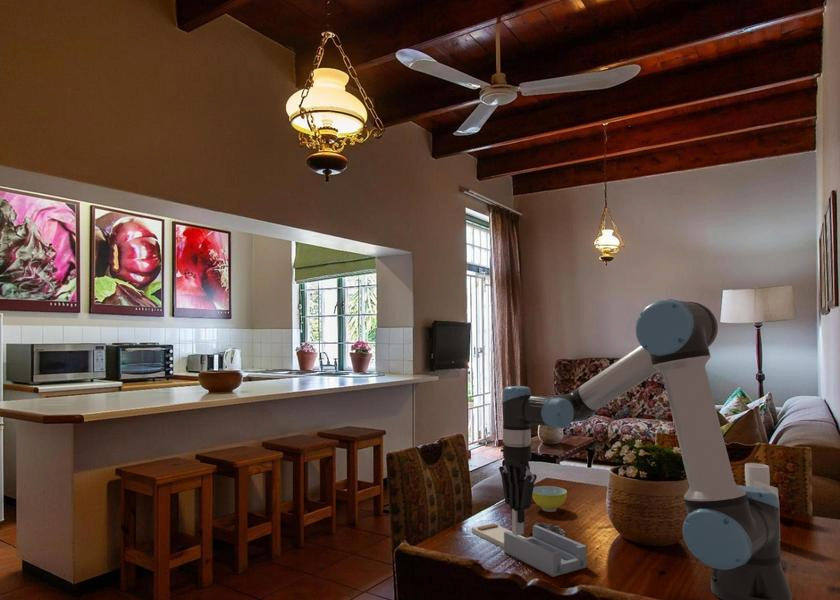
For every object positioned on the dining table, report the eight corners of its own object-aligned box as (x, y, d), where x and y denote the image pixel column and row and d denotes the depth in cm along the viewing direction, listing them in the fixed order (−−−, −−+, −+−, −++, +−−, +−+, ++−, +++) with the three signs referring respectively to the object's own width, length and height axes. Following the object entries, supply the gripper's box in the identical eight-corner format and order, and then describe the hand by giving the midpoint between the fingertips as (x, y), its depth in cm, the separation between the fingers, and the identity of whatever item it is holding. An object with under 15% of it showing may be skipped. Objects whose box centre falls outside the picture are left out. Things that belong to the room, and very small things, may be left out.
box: (586, 567, 139) (586, 545, 139) (553, 576, 133) (552, 554, 133) (536, 543, 154) (536, 524, 154) (504, 551, 148) (504, 532, 149)
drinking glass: (741, 511, 182) (739, 464, 183) (755, 509, 185) (753, 462, 186) (761, 518, 176) (760, 468, 177) (776, 515, 178) (774, 466, 179)
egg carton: (567, 549, 151) (567, 533, 151) (538, 548, 152) (538, 532, 152) (561, 535, 162) (560, 520, 162) (534, 534, 162) (534, 519, 163)
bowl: (524, 506, 188) (524, 487, 188) (555, 503, 191) (555, 484, 192) (542, 516, 177) (541, 496, 177) (574, 513, 180) (574, 493, 181)
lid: (530, 546, 153) (530, 538, 154) (508, 552, 149) (508, 543, 150) (493, 529, 167) (493, 521, 167) (471, 534, 163) (471, 526, 163)
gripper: (544, 446, 150) (545, 538, 149) (512, 439, 161) (513, 524, 160) (522, 449, 146) (523, 544, 145) (490, 441, 157) (491, 529, 156)
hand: (517, 533), depth 152 cm, fingers closed
